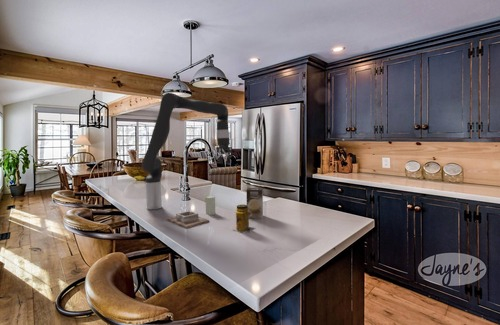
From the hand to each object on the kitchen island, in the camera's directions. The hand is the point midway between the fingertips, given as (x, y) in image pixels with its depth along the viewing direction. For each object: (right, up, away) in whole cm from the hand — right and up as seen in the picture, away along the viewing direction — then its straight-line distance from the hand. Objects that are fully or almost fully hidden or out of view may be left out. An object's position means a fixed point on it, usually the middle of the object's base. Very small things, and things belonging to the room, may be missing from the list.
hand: (224, 163), depth 161 cm
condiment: (+13, -32, -33) cm, 48 cm away
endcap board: (-19, -31, -19) cm, 41 cm away
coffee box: (+18, -30, -14) cm, 38 cm away
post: (-8, -30, -6) cm, 31 cm away
